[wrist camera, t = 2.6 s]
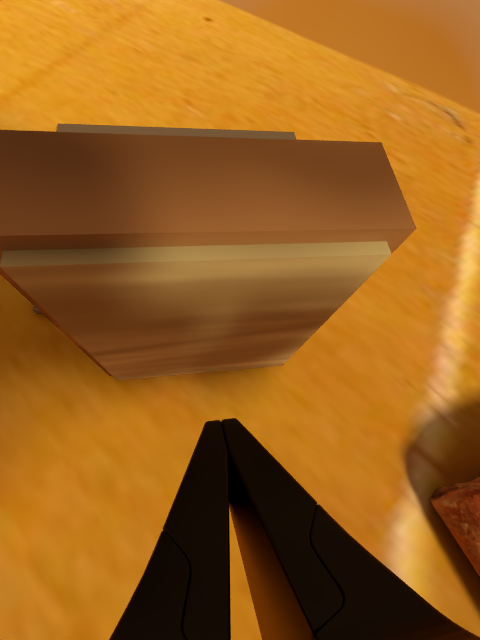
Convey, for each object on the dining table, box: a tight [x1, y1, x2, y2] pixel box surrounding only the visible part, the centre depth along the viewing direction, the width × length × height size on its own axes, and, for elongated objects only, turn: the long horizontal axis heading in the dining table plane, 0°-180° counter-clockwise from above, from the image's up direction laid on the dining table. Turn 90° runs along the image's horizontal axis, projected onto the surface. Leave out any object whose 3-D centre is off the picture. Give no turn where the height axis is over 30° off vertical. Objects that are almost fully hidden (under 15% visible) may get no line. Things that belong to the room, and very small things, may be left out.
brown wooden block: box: [0, 130, 416, 380], centre depth 13 cm, size 3×10×12 cm, turn 97°
